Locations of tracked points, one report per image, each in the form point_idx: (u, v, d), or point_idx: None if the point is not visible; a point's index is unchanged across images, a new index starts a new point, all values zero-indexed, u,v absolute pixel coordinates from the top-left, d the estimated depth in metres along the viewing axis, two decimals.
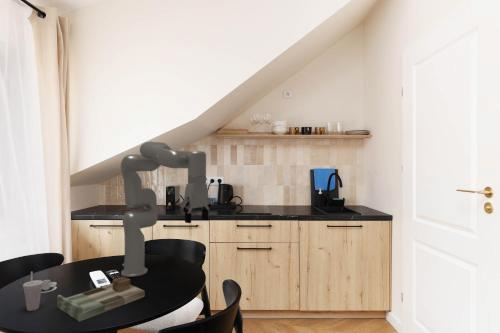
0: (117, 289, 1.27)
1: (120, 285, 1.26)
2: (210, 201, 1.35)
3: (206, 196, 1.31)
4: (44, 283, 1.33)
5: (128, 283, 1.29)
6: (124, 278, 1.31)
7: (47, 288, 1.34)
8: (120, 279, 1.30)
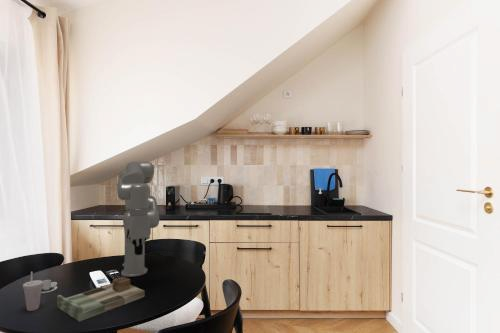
0: (117, 289, 1.27)
1: (120, 285, 1.26)
2: (147, 237, 1.39)
3: (148, 227, 1.37)
4: (44, 283, 1.33)
5: (128, 283, 1.29)
6: (124, 278, 1.31)
7: (47, 288, 1.34)
8: (120, 279, 1.30)
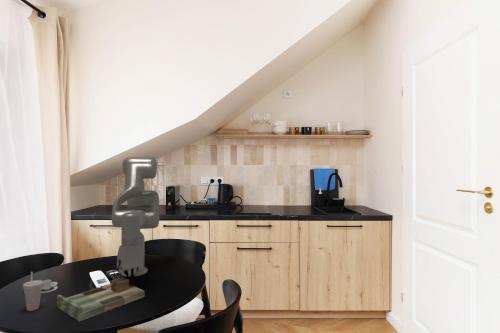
0: (116, 289, 1.26)
1: (118, 285, 1.26)
2: (140, 266, 1.36)
3: (140, 256, 1.34)
4: (45, 283, 1.33)
5: (127, 283, 1.29)
6: (123, 278, 1.31)
7: (48, 288, 1.34)
8: (119, 279, 1.29)
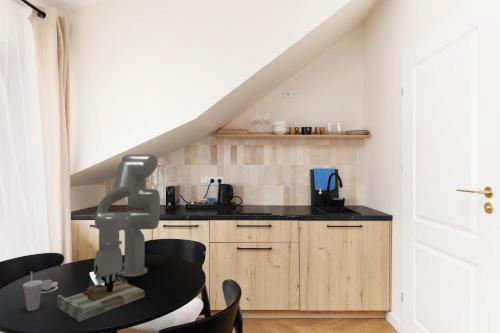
0: (92, 297, 1.18)
1: (95, 293, 1.18)
2: (119, 272, 1.28)
3: (119, 261, 1.26)
4: (45, 283, 1.34)
5: (104, 291, 1.21)
6: (101, 285, 1.23)
7: (48, 288, 1.34)
8: (96, 287, 1.21)
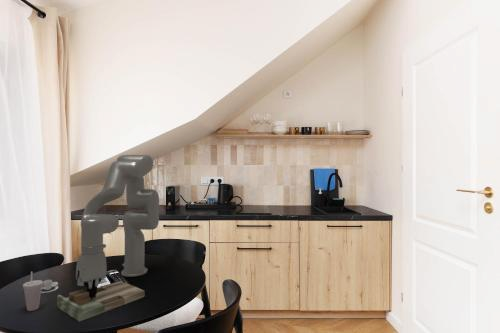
0: None
1: (76, 299, 1.13)
2: (103, 277, 1.23)
3: (103, 266, 1.21)
4: (46, 283, 1.34)
5: (86, 297, 1.16)
6: (83, 290, 1.17)
7: (49, 288, 1.34)
8: (78, 292, 1.16)
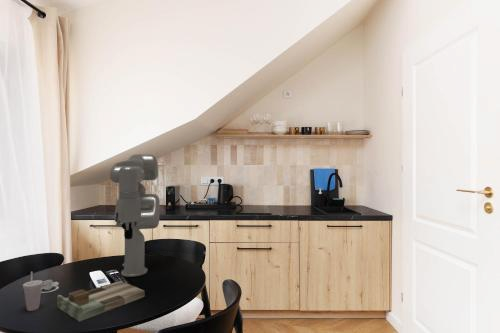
0: None
1: (75, 299, 1.12)
2: (138, 221, 1.35)
3: (138, 211, 1.33)
4: (46, 283, 1.34)
5: (86, 297, 1.15)
6: (83, 291, 1.17)
7: (49, 288, 1.34)
8: (77, 292, 1.16)
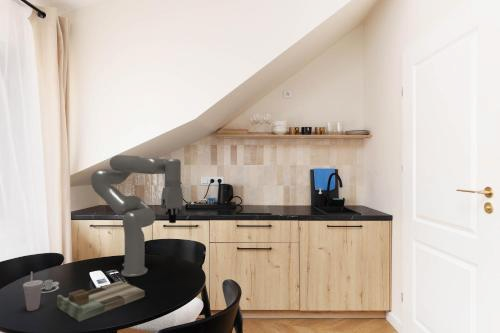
0: None
1: (75, 299, 1.12)
2: (180, 207, 1.51)
3: (181, 198, 1.50)
4: (46, 283, 1.34)
5: (86, 297, 1.15)
6: (83, 291, 1.17)
7: (49, 288, 1.34)
8: (77, 292, 1.16)
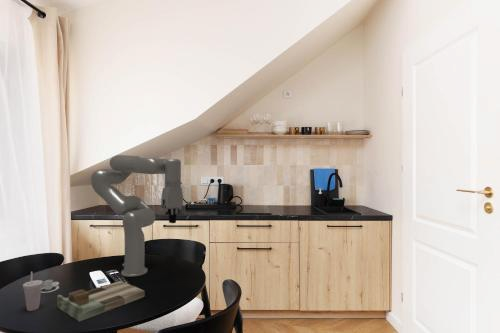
0: None
1: (75, 299, 1.12)
2: (180, 207, 1.51)
3: (181, 198, 1.50)
4: (46, 283, 1.34)
5: (86, 297, 1.15)
6: (83, 291, 1.17)
7: (49, 288, 1.34)
8: (77, 292, 1.16)
